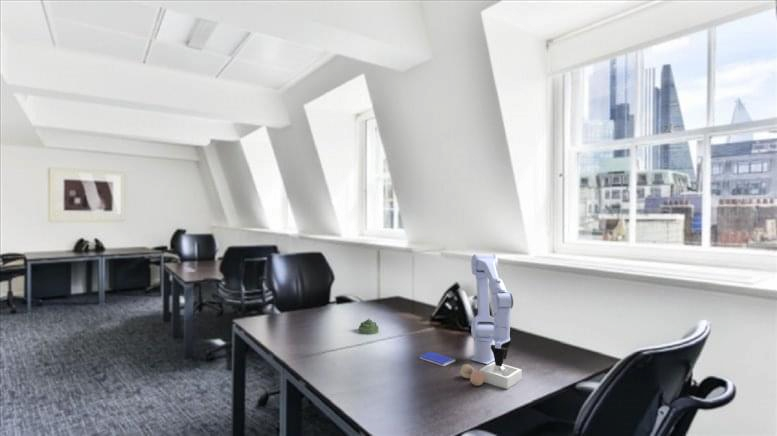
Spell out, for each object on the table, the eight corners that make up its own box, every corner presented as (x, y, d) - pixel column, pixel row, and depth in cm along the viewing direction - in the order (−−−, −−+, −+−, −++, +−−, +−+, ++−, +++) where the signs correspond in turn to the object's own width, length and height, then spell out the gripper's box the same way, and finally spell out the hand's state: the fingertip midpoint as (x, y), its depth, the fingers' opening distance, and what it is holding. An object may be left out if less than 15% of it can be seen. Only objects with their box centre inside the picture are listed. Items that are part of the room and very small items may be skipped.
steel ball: (493, 375, 156) (493, 362, 156) (506, 377, 154) (507, 364, 154) (492, 380, 151) (492, 366, 151) (506, 382, 150) (506, 368, 150)
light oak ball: (464, 374, 158) (465, 361, 158) (476, 377, 155) (476, 364, 154) (457, 377, 154) (457, 364, 154) (469, 381, 151) (469, 368, 151)
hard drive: (455, 358, 172) (431, 351, 180) (443, 363, 166) (419, 355, 174) (455, 362, 172) (431, 354, 180) (443, 367, 166) (419, 359, 174)
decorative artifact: (358, 334, 206) (378, 335, 206) (358, 320, 205) (378, 321, 205) (359, 328, 216) (378, 329, 216) (359, 315, 215) (378, 315, 215)
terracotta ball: (474, 381, 152) (474, 367, 152) (486, 385, 148) (486, 371, 148) (467, 385, 148) (467, 371, 148) (479, 389, 145) (479, 375, 145)
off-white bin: (494, 371, 161) (494, 361, 161) (521, 380, 153) (521, 369, 153) (479, 380, 152) (479, 369, 152) (507, 389, 145) (507, 378, 145)
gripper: (494, 319, 161) (493, 354, 161) (486, 328, 148) (485, 366, 148) (513, 321, 158) (512, 357, 158) (506, 331, 145) (505, 370, 145)
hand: (500, 362), depth 153 cm, fingers open, 7 cm apart
